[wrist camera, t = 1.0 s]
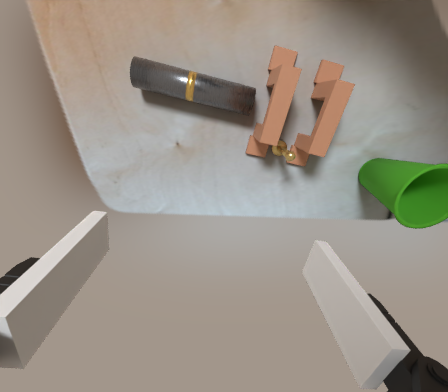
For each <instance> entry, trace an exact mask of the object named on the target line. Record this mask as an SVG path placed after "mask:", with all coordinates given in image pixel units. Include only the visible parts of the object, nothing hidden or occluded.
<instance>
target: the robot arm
mask: <svg viewBox="0 0 448 392" xmlns="http://www.w3.org/2000/svg"><path fill="white" fill-rule="evenodd" d="M108 250H109V237H108V218H107V212H101V211H93V212H91V213H90V214H89V215H88V216H87V217H86V218H85V219H84V220H83V221H81V222H80V223H79V224H78V225H77V226H76V227H75V228H74V229H73V230H71V231H70V232H69V233H68V234H67V235H66V236H65V237H64V238H63V239H62V240H60V241H59V242H58V243H57V244H56V245H55V246H54V247H53V248H52V249H51V250H49V251H48V252H47V253H46V254H45V255H44V256H43V257H42V258H32V257H31V258H29V259H27V260H25V261H23V262H21V263H19V264H17V265H16V266H15V267H13V268H12V269H11V270H10V271H9V272H7V273H6V274H5V276H4V277H1V278H0V367H2V368H20V369H24V368H25V366H26V365H27V363H28V362H29V360H30V359H31V358H32V356H33V355H34V353H35V352H36V351H37V349H38V348H39V347H40V345H41V344H42V342H43V341H44V340H45V338H46V337H47V335H48V334H49V332H50V331H51V330H52V328H53V327H54V326H55V324H56V323H57V321H58V320H59V318H60V317H61V316H62V314H63V313H64V312H65V310H66V309H67V307H68V306H69V305H70V303H71V302H72V300H73V299H74V298H75V296H76V295H77V294H78V292H79V291H80V289H81V288H82V287H83V285H84V284H85V282H86V281H87V280H88V278H89V277H90V275H91V274H92V273H93V271H94V270H95V269H96V267H97V265H98V264H99V263H100V262H101V260H102V259H103V257H104V256H105V255H106V253H107V252H108ZM302 273H303V275H304V277H305V279H306V281H307V283H308V285H309V287H310V289H311V291H312V293H313V295H314V297H315V299H316V301H317V303H318V305H319V308H320V310H321V311H322V313H323V316H324V317H325V320H326V322H327V324H328V326H329V328H330V330H331V332H332V334H333V336H334V338H335V340H336V342H337V344H338V346H339V348H340V350H341V352H342V354H343V356H344V358H345V360H346V362H347V364H348V366H349V368H350V370H351V372H352V374H353V376H354V378H355V380H356V382H357V384H358V386H359V388H361V389H377V388H378V387H379V386H380V385H381V383H382V382H383V381H384V383H385V385H386V386H387V388H388V391H387V392H448V369H447V368H446V367H444V366H443V365H441V364H440V363H439V362H437V361H436V360H433V359H431V358H430V357H425V356H423V354H422V353H421V352H420V351H419V350H418V348H417V347H416V346H415V345H414V343H413V342H412V341H411V340H410V339H409V337H408V336H407V335H406V334H405V332H404V331H403V330H402V329H401V327H400V326H399V325H398V324H397V323H395V320H394V319H393V318H392V316H391V315H390V314H388V312H387V310H386V309H385V308H384V306H383V305H382V304H381V303H380V302H379V301H378V300H377V299H376V298H374V297H373V296H372V295H371V294H367V293H366V292H365V291H364V290H363V288H362V287H361V286H360V284H359V283H358V282H357V281H356V279H355V278H354V277H353V275H352V274H351V273H350V271H349V270H348V269H347V268H346V266H345V265H344V264H343V263H342V261H341V260H340V259H339V257H338V256H337V255H336V253H335V252H334V251H333V250H332V248H331V247H330V246H329V244H328V243H327V242H325V241H317V240H316V241H315V243H314V245H313V247H312V250H311V252H310V254H309V257H308V259H307V261H306V264H305V266H304V268H303V270H302Z"/></svg>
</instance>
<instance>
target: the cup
mask: <svg viewBox="0 0 448 392" xmlns="http://www.w3.org/2000/svg"><path fill="white" fill-rule="evenodd" d="M359 181H360V183H361V184H362V185H363V186H364V187H365V188H366V189H367V190H368V191H369V192H370V193H371V194H373V195H374V196H375V197H376V198H377V199H378V200H379V201H380V202H381V203H382V204H383V205H384V206H386V207H387V208H388V209H389V210H390V211H391V212H392V213H393V214H394V215H395V217H396V220H397V221H398V222H399V223H400V224H402V225H404V226H406V227H409V228H415V229H416V228H426V227H430V226H433V225H436V224H438V223H440V222H442V221H443V220H445V219H447V218H448V164H437V165H433V164H424V163H416V162H407V161H399V160H391V159H382V158H376V159H372V160H370V161H368V162H366V163H365V164H364V165H363V166H362V167H361V169H360V171H359Z"/></svg>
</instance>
